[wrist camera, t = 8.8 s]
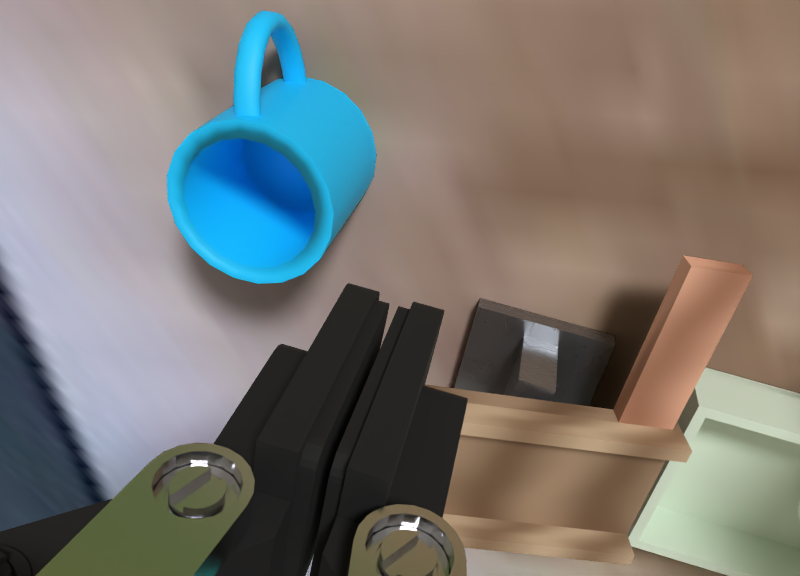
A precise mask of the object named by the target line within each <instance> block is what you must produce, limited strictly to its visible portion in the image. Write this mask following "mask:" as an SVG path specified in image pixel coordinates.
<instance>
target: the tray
mask: <svg viewBox="0 0 800 576" xmlns="http://www.w3.org/2000/svg"><path fill="white" fill-rule="evenodd" d="M677 422H678V424H679V426H680V428H681V430H682V432H683V434H684V436H685V438H686V440H687V442H688V444H689V446H690V448H691V450H692V453H691V455H690V457H689V459H688V460H687V462H686V463H685V462H677V461H669V460H666V461H665V463H664V465H663V467H662V469H661V471H660V473H659V475H658V477H657V478H656V480H655V482H654V484H653V486H652V488H651V490H650V492H649V493H648V495H647V497H646V499H645V501H644V503H643V505H642V507H641V509H640V510H639V512H638V514H637V516H636V518H635V520H634V522H633V524H632V525H631V527H630V529H629V531H628V533H627V536H628V538H629V541H630V544H631V546H632V547H636V548H639V549H642V550H645V551H649V552H652V553H655V554H659V555H662V556H665V557H668V558H672V559H675V560H678V561H682V562H685V563H688V564H691V565H695V566H698V567H701V568H705V569H708V570H711V571H714V572H718V573H721V574H724V575H728V576H800V519H799V513H798V509H799V503H800V394H799V393H795V392H792V391H788V390H784V389H781V388H777V387H774V386H770V385H767V384H763V383H759V382H756V381H752V380H749V379H745V378H742V377H738V376H734V375H731V374H727V373H724V372H720V371H717V370H713V369H709V368H706V367H705V369H704V371H703V373H702V375H701V377H700V379H699V381H698V382H697V384H696V386H695V388H694V390H693V392H692V394H691V396H690V398H689V400H688V402H687V403H686V405H685V407H684V409H683V411H682V413H681V415H680V417H679V419H678V421H677Z"/></svg>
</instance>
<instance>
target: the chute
mask: <svg viewBox="0 0 800 576" xmlns="http://www.w3.org/2000/svg"><path fill="white" fill-rule="evenodd" d="M752 277H753V276H752V275H751V273H750V272H749V271H748V270H747V269H746V268H745V266H744V265H739V264H733V263H727V262H720V261H714V260H708V259H702V258H696V257H690V256H683V257H682V260H681V262H680V264H679V266H678V268H677V271H676V273H675V275H674V277H673V279H672V282H671V284H670V286H669V288H668V290H667V293H666V295H665V297H664V299H663V301H662V304H661V306H660V308H659V310H658V312H657V315H656V317H655V319H654V321H653V323H652V326H651V328H650V330H649V332H648V334H647V337H646V339H645V341H644V343H643V345H642V348H641V350H640V352H639V354H638V356H637V359H636V361H635V363H634V365H633V367H632V370H631V372H630V374H629V376H628V378H627V381H626V383H625V385H624V387H623V389H622V392H621V394H620V396H619V398H618V400H617V402H616V405H615V407H614V409H605V408H598V407H590V406H583V405H575V404H567V403H560V402H552V401H545V400H537V399H530V398H522V397H515V396H507V395H499V394H492V393H484V392H477V391H469V390H462V389H454V388H447V387H439V386H431V385H425V386H428V387H431V388H435V389H438V390H441V391H445V392H448V393H452V394H455V395H459V396H462V397H465V398H468V402H467V407H466V412H465V416H464V421H463V426H462V430H461V435H460V439H459V444H458V449H457V453H456V458H455V463H454V467H453V472H452V477H451V481H450V486H449V491H448V495H447V500H446V505H445V509H444V514H443V519H444V520H445V521H446V522H447V523H448V524H449V525H450V526H451V527H452V528H453V529H454V530H455V531H456V532H457V534H458V536H459V538H460V539H461V541H462V543H463V545H464V547H465V548H475V549H484V550H494V551H503V552H513V553H522V554H532V555H541V556H551V557H560V558H570V559H579V560H589V561H598V562H608V563H617V564H627V565H630V563H631V562H632V560H633V558H634V556H635V555H634V552H633V550H632V547H631V544H630V541H629V538H628V536H627V533H628V531H629V529H630V527H631V525H632V524H633V522H634V520H635V518H636V516H637V514H638V512H639V510H640V509H641V507H642V505H643V503H644V501H645V499H646V497H647V495H648V493H649V492H650V490H651V488H652V486H653V484H654V482H655V480H656V478H657V477H658V475H659V473H660V471H661V469H662V467H663V465H664V463H665V461H666V460H669V461H677V462H685V463H686V462H687V460H688V459H689V457H690V455H691V453H692V450H691V448H690V446H689V444H688V442H687V440H686V438H685V436H684V434H683V432H682V430H681V428H680V426H679V424H678V422H677V421H678V419H679V417H680V415H681V413H682V411H683V409H684V407H685V405H686V403H687V402H688V400H689V398H690V396H691V394H692V392H693V390H694V388H695V386H696V384H697V382H698V381H699V379H700V377H701V375H702V373H703V371H704V369H705V367H706V365H707V363H708V361H709V359H710V358H711V356H712V354H713V352H714V350H715V348H716V346H717V344H718V342H719V340H720V338H721V336H722V335H723V333H724V331H725V329H726V327H727V325H728V323H729V321H730V319H731V317H732V315H733V313H734V312H735V310H736V308H737V306H738V304H739V302H740V300H741V298H742V296H743V294H744V292H745V290H746V289H747V287H748V285H749V283H750V281H751V279H752Z"/></svg>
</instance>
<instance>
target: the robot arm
mask: <svg viewBox="0 0 800 576" xmlns="http://www.w3.org/2000/svg"><path fill="white" fill-rule="evenodd" d="M388 310H389V303H385V302H382V301H379V292H378V291H374V290H371V289H367V288H364V287H360V286H357V285H353V284H349V283H348V284H347V285H346V286H345V288H344V290H343V292H342V293H341V295H340V297H339V298H338V300H337V302H336V304H335V305H334V307H333V309H332V311H331V312H330V314H329V316H328V317H327V319H326V321H325V323H324V324H323V326H322V328H321V330H320V331H319V333H318V335H317V336H316V338H315V340H314V342H313V343H312V345H311V347H310V349H309V350H308V351H304V350H301V349H298V348H294V347H291V346H287V345H284V344H280V345H278V347H277V348H276V349H275V350H274V352H273V353H272V355H271V356H270V358H269V360H268V361H267V363H266V364H265V366H264V367H263V369H262V370H261V372H260V373H259V375H258V376H257V378H256V379H255V381H254V383H253V384H252V386H251V387H250V389H249V390H248V392H247V393H246V395H245V396H244V398H243V399H242V401H241V403H240V404H239V406H238V407H237V409H236V410H235V412H234V413H233V415H232V416H231V418H230V419H229V421H228V422H227V424H226V426H225V427H224V429H223V430H222V432H221V433H220V435H219V436H218V438H217V439H216V441H215V442H214V444H208V443H192V444H186V445H179V446H177V447H174V448H172V449H169V450H167V451H164V452H163V453H161V454H160V455H159V456H157V457H156V458H155V459H153V460H152V461H151V462H150V463H149V464H148V465H147V466H146V467H145V468H144V469H143V470H142V471H141V472H140V473H139V474H138V475H137V476H136V477H135V478H133V479H132V480H131V481H130V482H129V483H128V484H127V485H126V486H125V487H124V488H123V489H122V490H121V491H120V492H119V493H118V494H117V495H116V496H115V497H114V498H113V499H110V500H107V501H103V502H100V503H97V504H93V505H90V506H86V507H83V508H80V509H76V510H73V511H69V512H66V513H63V514H59V515H56V516H52V517H49V518H46V519H42V520H39V521H35V522H32V523H29V524H25V525H22V526H18V527H15V528H12V529H8V530H5V531H1V532H0V576H305V575H306V573H307V570H308V567H309V565H310V562H311V560H312V557H313V561H312V566H311V572H310V576H467V567H466V555H465V550H464V545H463V543H462V541H461V539H460V538H459V536H458V534H457V532H456V531H455V530H454V529H453V528H452V527H451V526H450V525H449V524H448V523H447V522H446V521H445V520H444V519H443V514H444V509H445V505H446V500H447V495H448V491H449V486H450V481H451V477H452V472H453V467H454V463H455V458H456V453H457V449H458V444H459V439H460V435H461V430H462V426H463V421H464V416H465V412H466V407H467V402H468V398H465V397H462V396H459V395H455V394H452V393H448V392H445V391H441V390H438V389H435V388H431V387H428V386H425V382H426V378H427V375H428V371H429V367H430V363H431V360H432V356H433V352H434V349H435V345H436V341H437V337H438V334H439V330H440V326H441V322H442V319H443V315H444V310H442V309H438V308H435V307H431V306H427V305H424V304H420V303H417V302H413V303H412V306H411V308H410V309H406V308H403V307H398V309H397V311H396V313H395V316H394V318H393V320H392V323H391V325H390V327H389V330H388V332H387V334H386V337H385V339H384V341H383V344H382V346H381V342H382V337H383V333H384V328H385V324H386V319H387V314H388ZM380 346H381V348H380ZM313 555H314V556H313Z"/></svg>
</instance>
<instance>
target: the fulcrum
mask: <svg viewBox="0 0 800 576" xmlns="http://www.w3.org/2000/svg"><path fill="white" fill-rule="evenodd" d="M614 347H615V336H614V335H610V334H606V333H603V332H599V331H596V330H592V329H589V328H585V327H581V326H578V325H574V324H571V323H567V322H564V321H560V320H556V319H553V318H549V317H546V316H542V315H538V314H535V313H531V312H528V311H524V310H521V309H517V308H513V307H510V306H506V305H503V304H499V303H495V302H492V301H488V300H485V299H481V298H480V301H479V304H478V307H477V311H476V314H475V318H474V321H473V324H472V328H471V331H470V335H469V338H468V341H467V345H466V348H465V351H464V355H463V358H462V362H461V365H460V368H459V372H458V375H457V378H456V382H455V385H454V389H462V390H469V391H477V392H484V393H492V394H499V395H507V396H515V397H522V398H530V399H537V400H545V401H552V402H560V403H567V404H575V405H583V406H589V405H590V403H591V400H592V398H593V396H594V393H595V391H596V389H597V386H598V384H599V382H600V379H601V377H602V375H603V372H604V370H605V368H606V365H607V363H608V361H609V359H610V356H611V354H612V352H613V349H614Z"/></svg>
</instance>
